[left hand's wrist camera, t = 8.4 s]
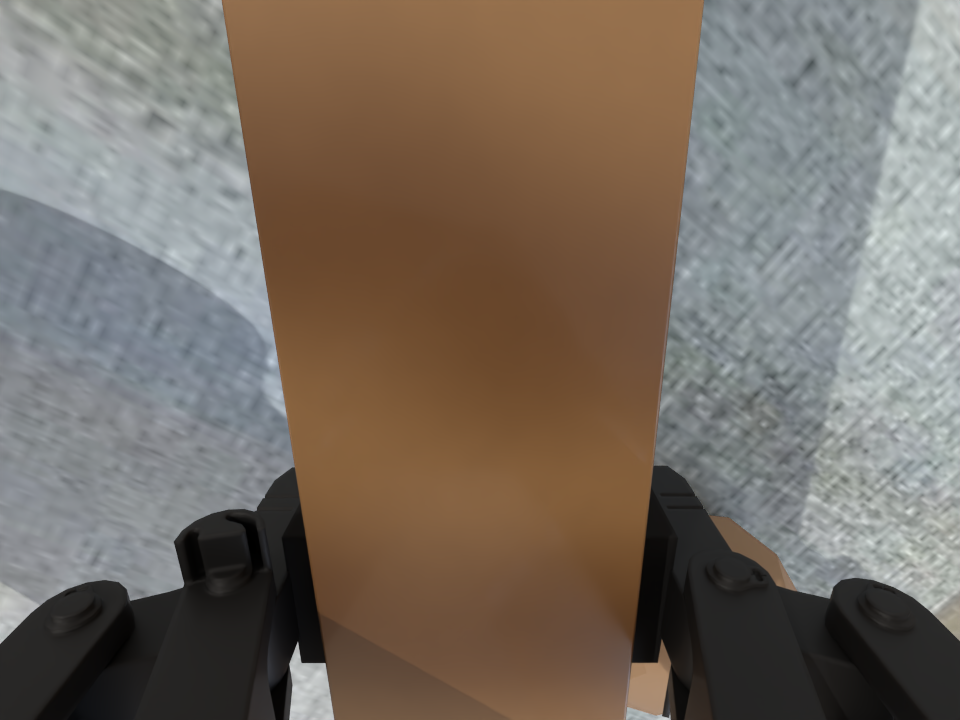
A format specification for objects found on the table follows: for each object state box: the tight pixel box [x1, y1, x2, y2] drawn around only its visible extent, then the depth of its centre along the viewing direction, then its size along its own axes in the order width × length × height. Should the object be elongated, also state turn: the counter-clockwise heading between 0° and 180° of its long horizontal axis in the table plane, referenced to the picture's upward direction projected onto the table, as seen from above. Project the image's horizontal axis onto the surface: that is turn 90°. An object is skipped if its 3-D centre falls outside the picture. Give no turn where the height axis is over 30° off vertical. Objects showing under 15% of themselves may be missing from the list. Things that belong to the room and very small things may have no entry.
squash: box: [627, 515, 797, 715], centre depth 31 cm, size 11×20×9 cm, turn 143°
